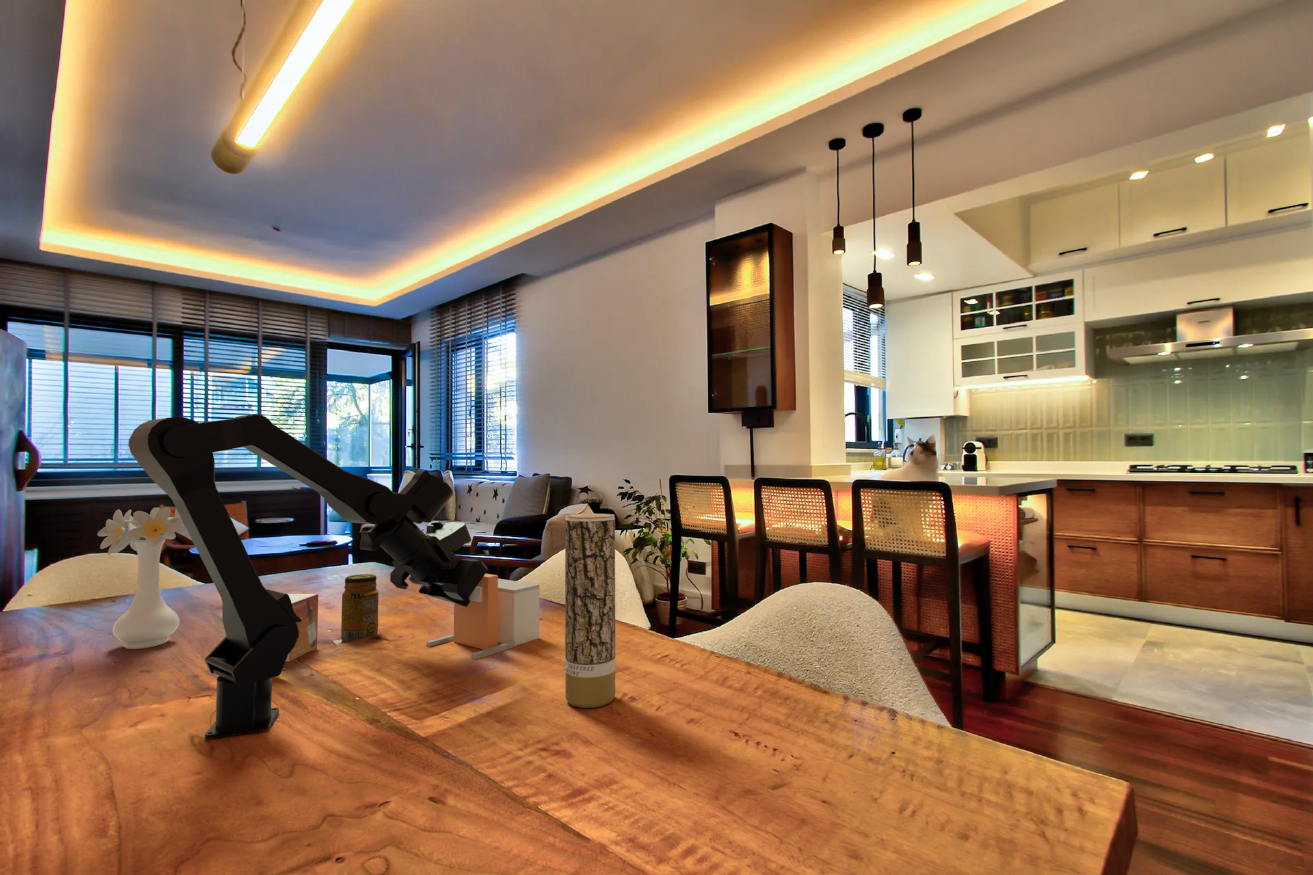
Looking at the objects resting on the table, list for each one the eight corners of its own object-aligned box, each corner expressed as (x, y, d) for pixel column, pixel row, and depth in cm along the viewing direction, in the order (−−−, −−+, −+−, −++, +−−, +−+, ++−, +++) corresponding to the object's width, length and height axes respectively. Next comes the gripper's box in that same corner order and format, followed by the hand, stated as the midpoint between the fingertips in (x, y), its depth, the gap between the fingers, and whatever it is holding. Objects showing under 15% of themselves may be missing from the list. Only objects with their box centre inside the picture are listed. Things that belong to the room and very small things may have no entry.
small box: (289, 671, 96) (290, 603, 96) (253, 671, 96) (255, 603, 96) (318, 655, 104) (319, 592, 104) (285, 655, 104) (287, 593, 104)
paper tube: (607, 711, 79) (607, 517, 80) (557, 707, 80) (558, 517, 82) (621, 692, 86) (620, 513, 87) (574, 689, 87) (574, 513, 88)
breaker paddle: (485, 651, 100) (486, 577, 101) (451, 642, 106) (451, 572, 106) (497, 647, 102) (497, 575, 103) (463, 639, 108) (463, 570, 108)
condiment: (374, 635, 116) (375, 571, 117) (387, 644, 110) (388, 577, 110) (332, 642, 112) (333, 576, 112) (343, 652, 105) (344, 582, 106)
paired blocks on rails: (448, 679, 92) (448, 606, 92) (394, 662, 100) (395, 595, 100) (544, 646, 108) (544, 584, 108) (492, 634, 116) (492, 577, 116)
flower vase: (147, 631, 120) (151, 503, 121) (213, 639, 114) (217, 504, 115) (65, 650, 108) (70, 507, 109) (134, 660, 102) (139, 509, 103)
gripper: (478, 508, 94) (531, 570, 103) (407, 504, 105) (460, 561, 113) (432, 567, 87) (493, 628, 96) (362, 556, 98) (422, 612, 107)
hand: (467, 604), depth 103 cm, fingers closed
